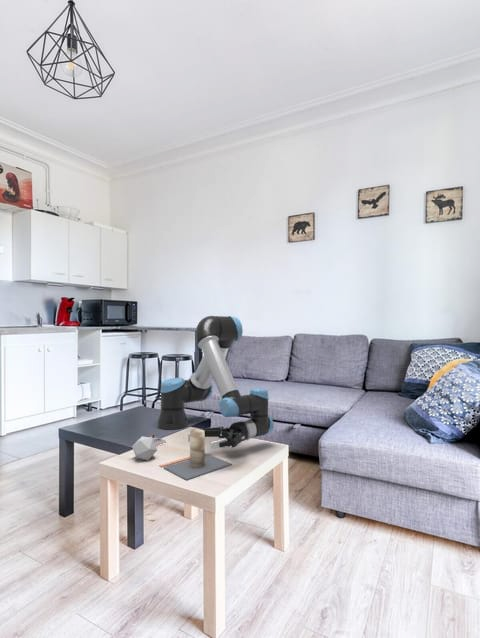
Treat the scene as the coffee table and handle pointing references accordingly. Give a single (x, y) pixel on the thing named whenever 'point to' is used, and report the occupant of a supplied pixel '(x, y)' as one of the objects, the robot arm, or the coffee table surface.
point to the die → (144, 448)
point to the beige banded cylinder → (197, 448)
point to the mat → (190, 472)
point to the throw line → (175, 462)
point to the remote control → (158, 440)
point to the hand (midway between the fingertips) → (199, 442)
